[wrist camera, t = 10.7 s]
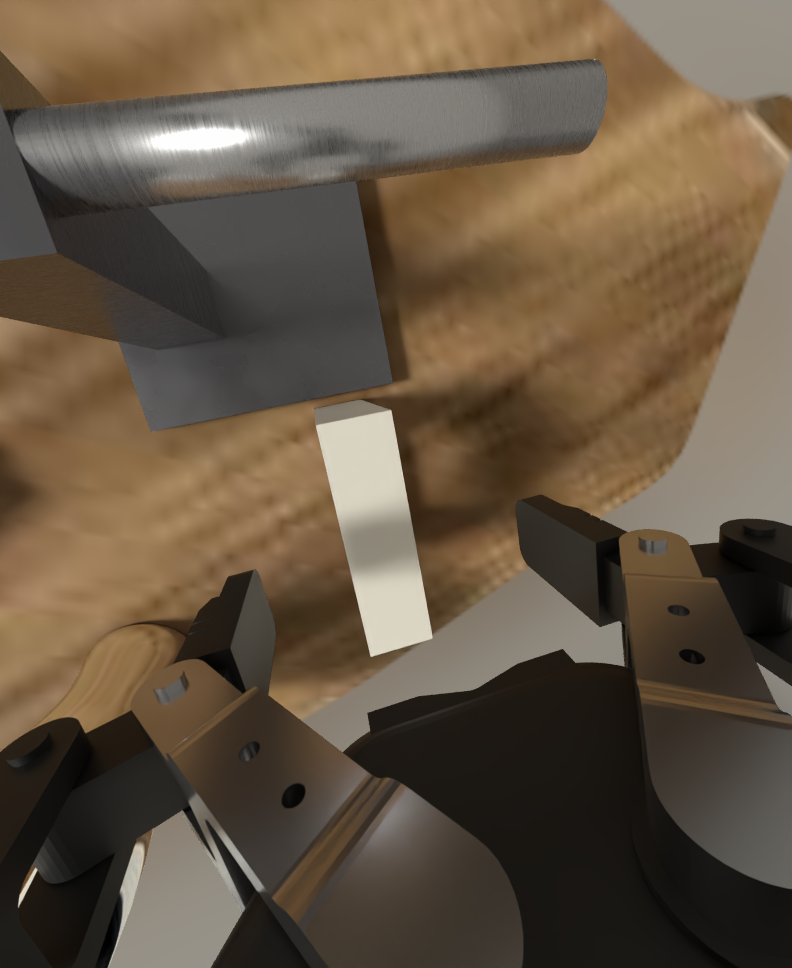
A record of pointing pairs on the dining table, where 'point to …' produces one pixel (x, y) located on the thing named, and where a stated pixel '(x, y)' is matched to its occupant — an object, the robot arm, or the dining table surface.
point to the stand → (246, 218)
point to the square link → (375, 522)
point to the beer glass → (101, 699)
